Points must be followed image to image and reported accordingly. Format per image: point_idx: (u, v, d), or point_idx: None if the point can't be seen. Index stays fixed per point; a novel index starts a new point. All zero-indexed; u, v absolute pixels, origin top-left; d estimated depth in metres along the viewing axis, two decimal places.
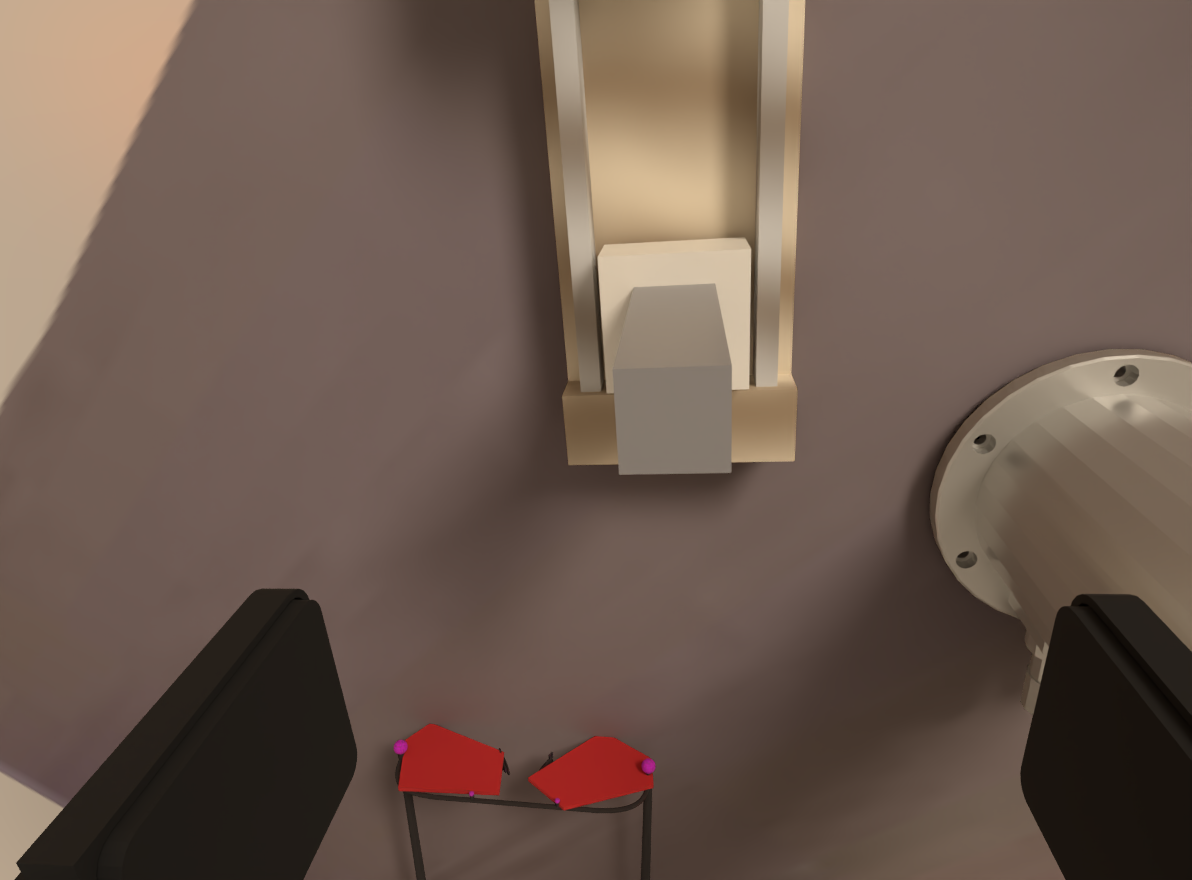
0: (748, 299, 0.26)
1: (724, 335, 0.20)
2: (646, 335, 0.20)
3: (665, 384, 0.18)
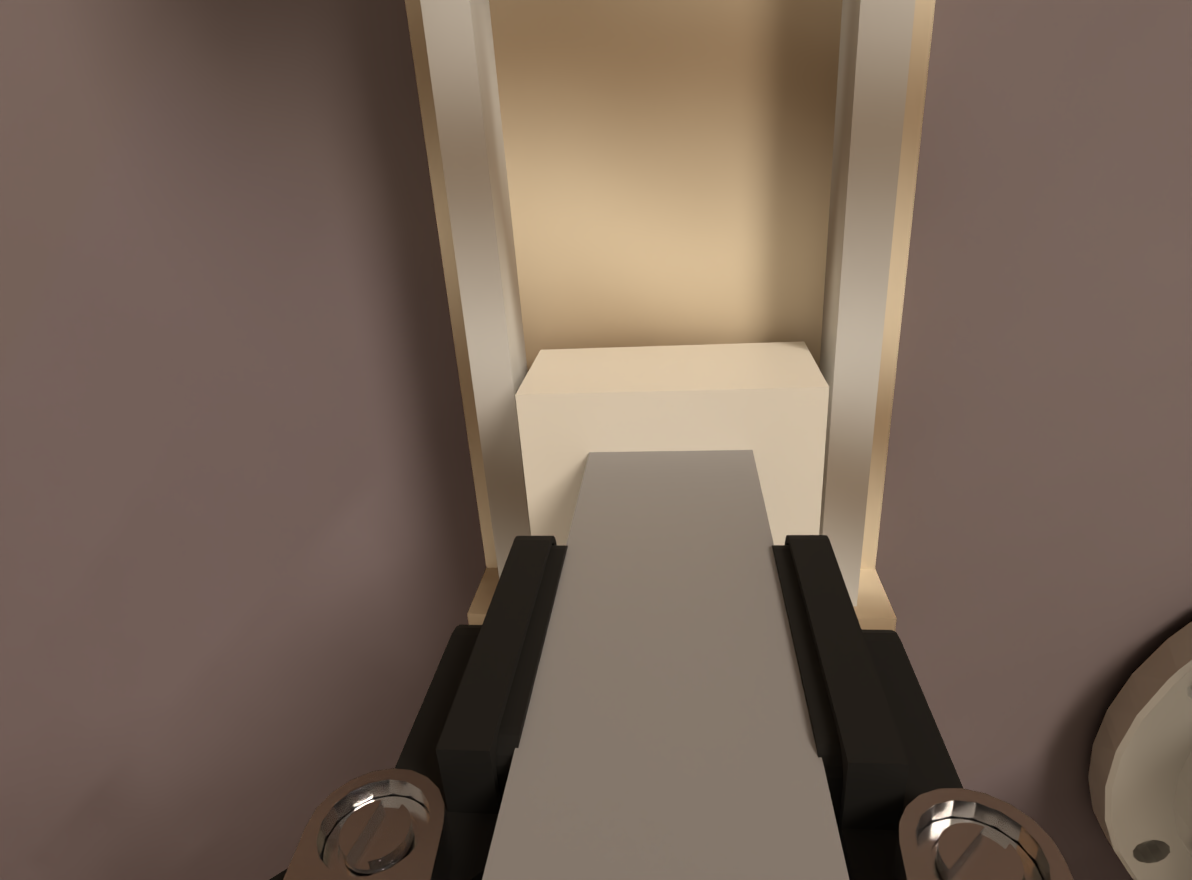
0: (818, 480, 0.13)
1: (815, 747, 0.07)
2: (591, 716, 0.07)
3: None
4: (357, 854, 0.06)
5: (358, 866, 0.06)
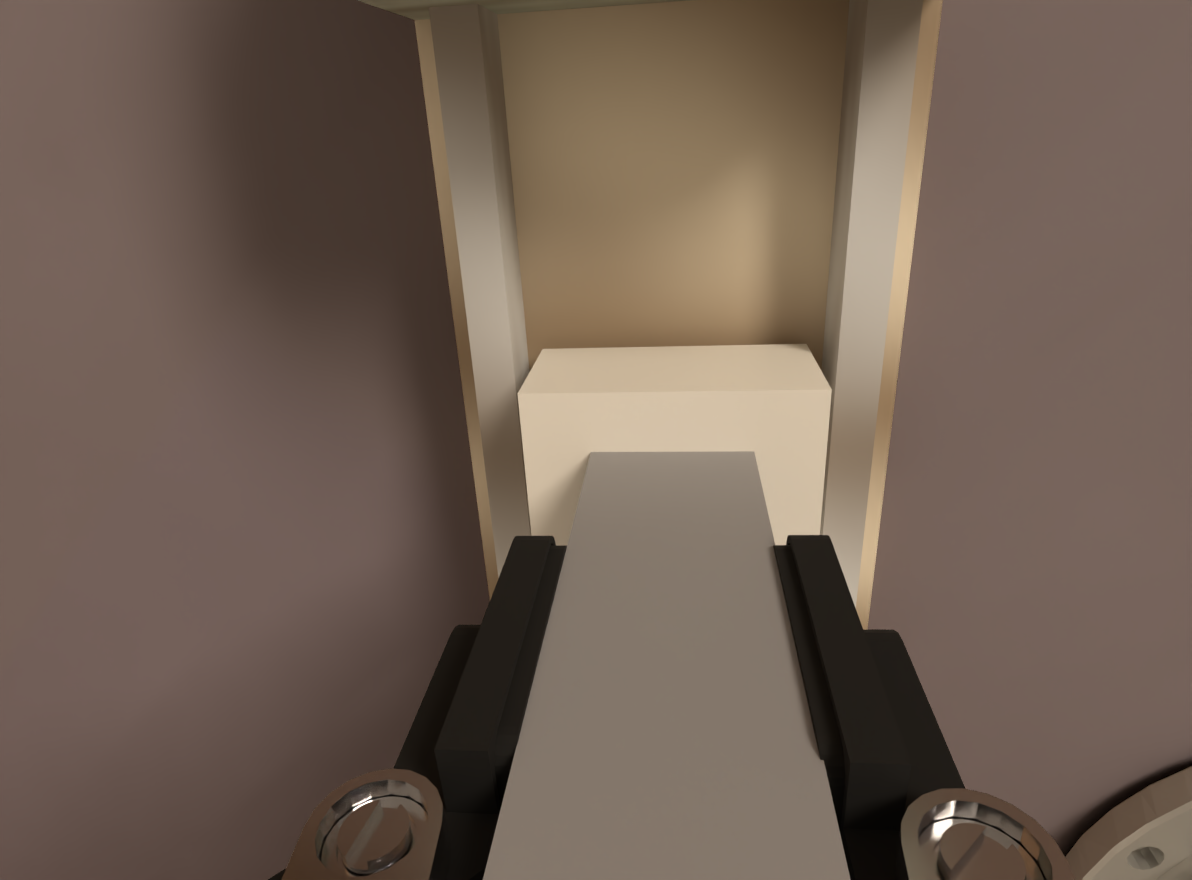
0: (820, 483, 0.13)
1: (817, 749, 0.07)
2: (592, 717, 0.07)
3: None
4: (356, 854, 0.06)
5: (358, 865, 0.06)
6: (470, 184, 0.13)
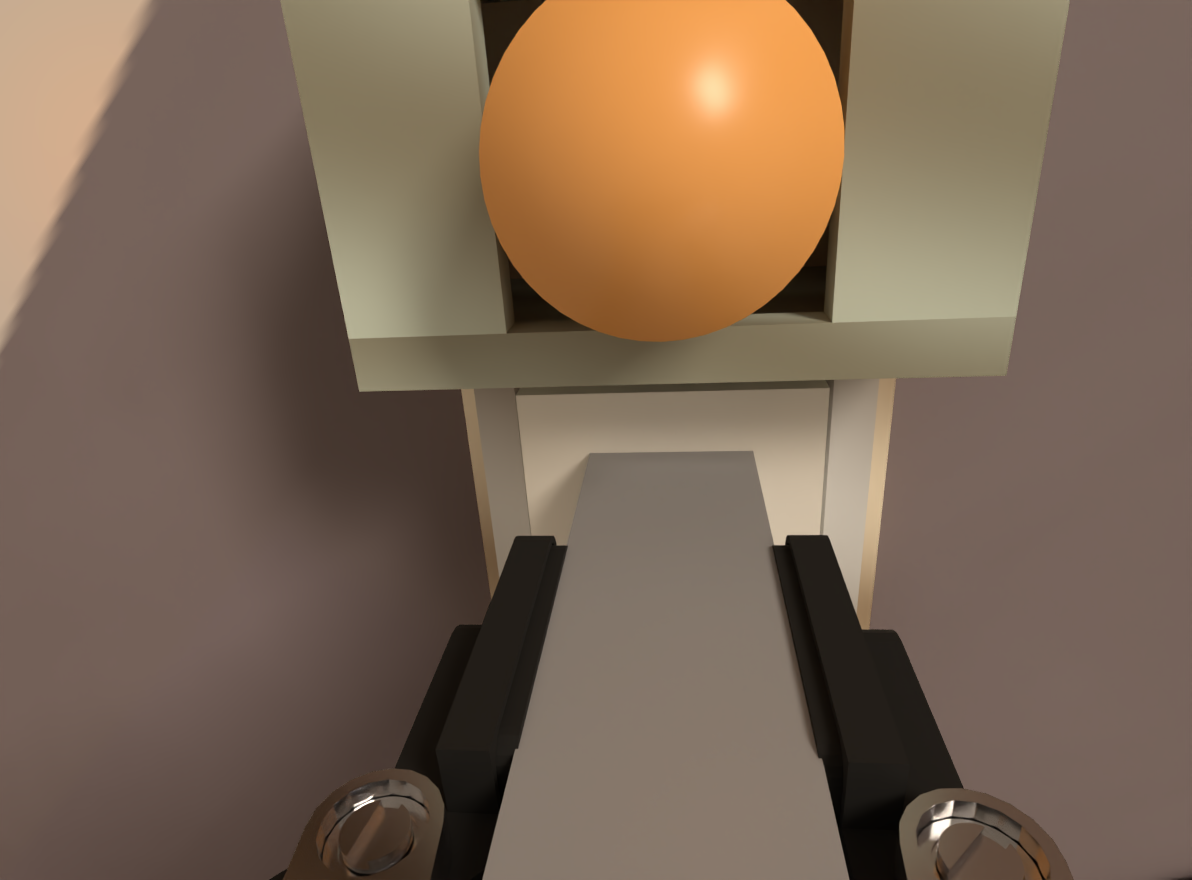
0: (819, 481, 0.13)
1: (816, 748, 0.07)
2: (591, 718, 0.07)
3: None
4: (357, 854, 0.06)
5: (360, 865, 0.06)
6: (500, 457, 0.15)
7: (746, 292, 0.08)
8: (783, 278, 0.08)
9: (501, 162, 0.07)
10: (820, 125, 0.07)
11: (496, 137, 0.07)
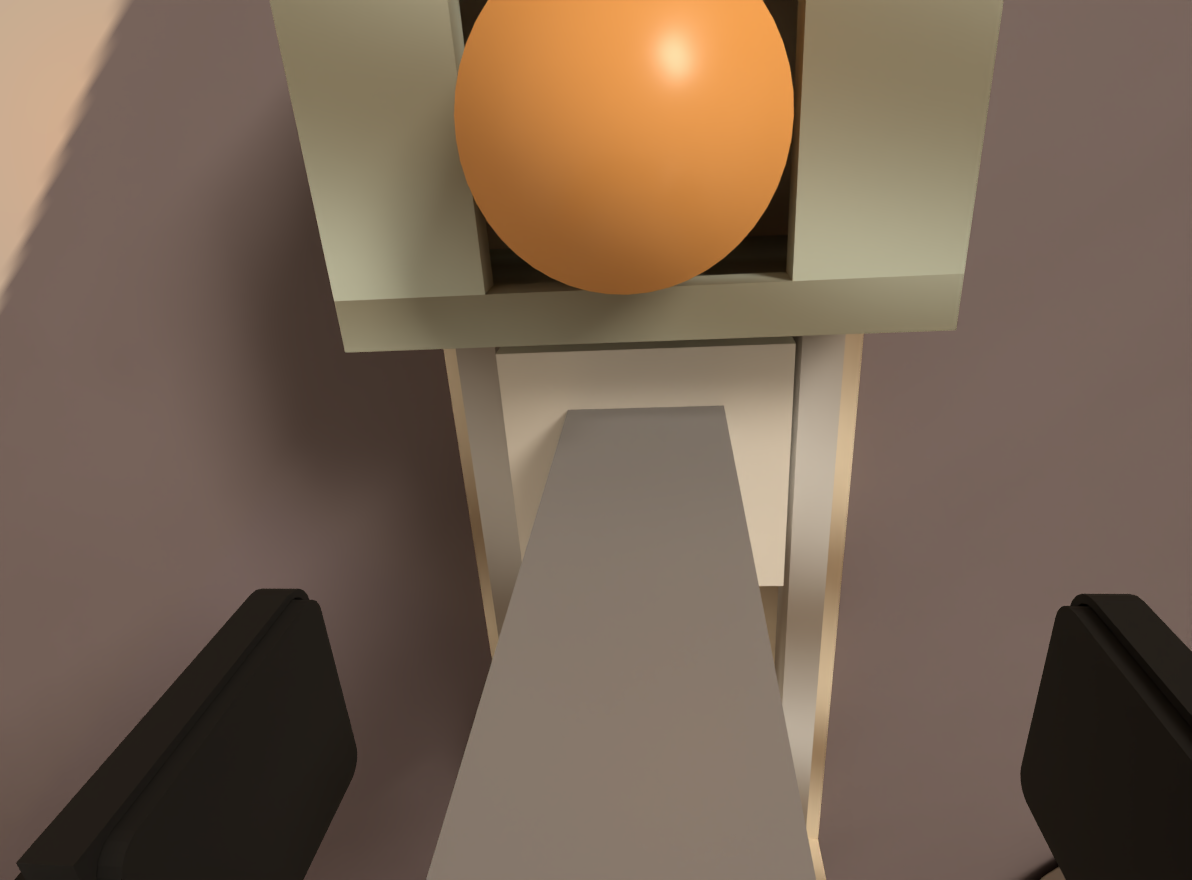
0: (787, 434, 0.13)
1: (768, 653, 0.07)
2: (563, 633, 0.08)
3: None
4: None
5: None
6: (483, 422, 0.15)
7: (706, 246, 0.08)
8: (740, 233, 0.08)
9: (476, 124, 0.08)
10: (770, 88, 0.08)
11: (470, 100, 0.08)
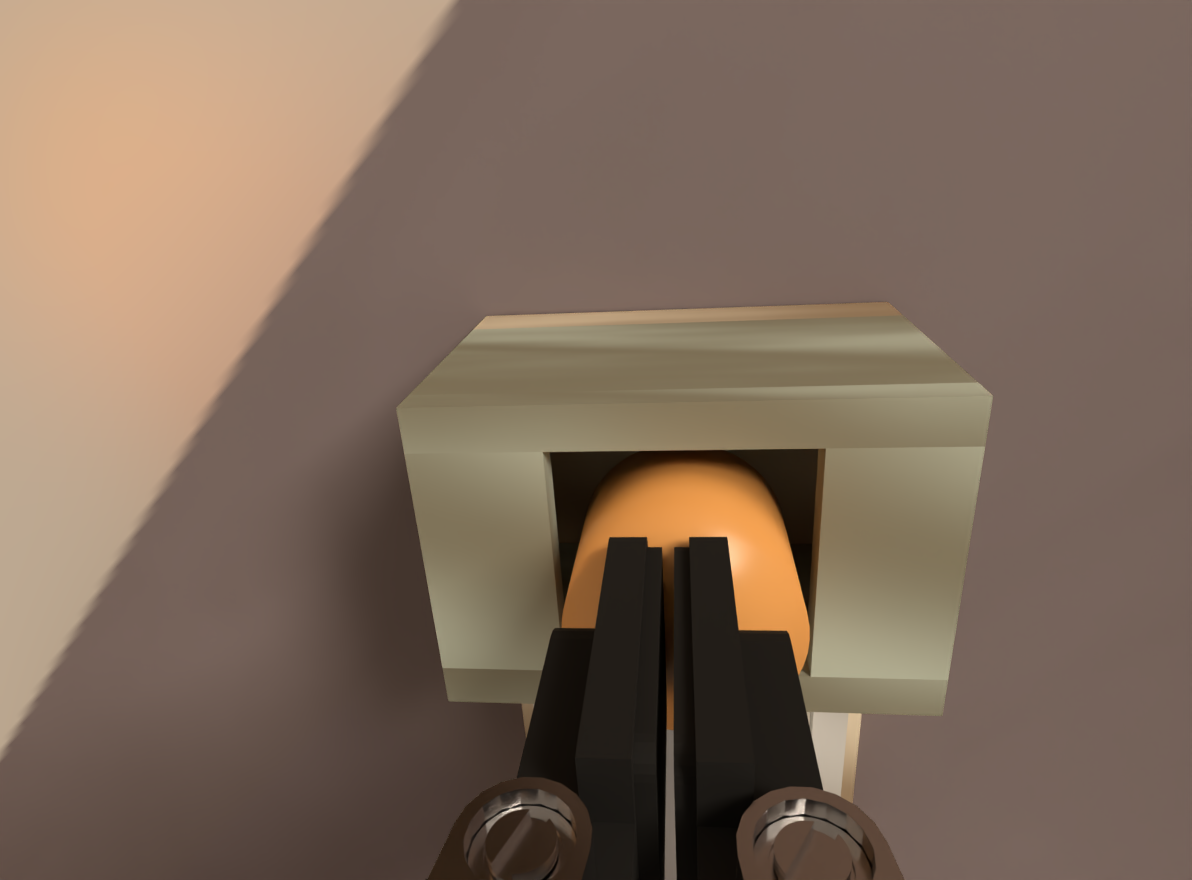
0: None
1: None
2: None
3: None
4: (501, 863, 0.06)
5: (502, 874, 0.06)
6: None
7: None
8: None
9: (577, 627, 0.11)
10: (792, 623, 0.11)
11: (574, 615, 0.11)
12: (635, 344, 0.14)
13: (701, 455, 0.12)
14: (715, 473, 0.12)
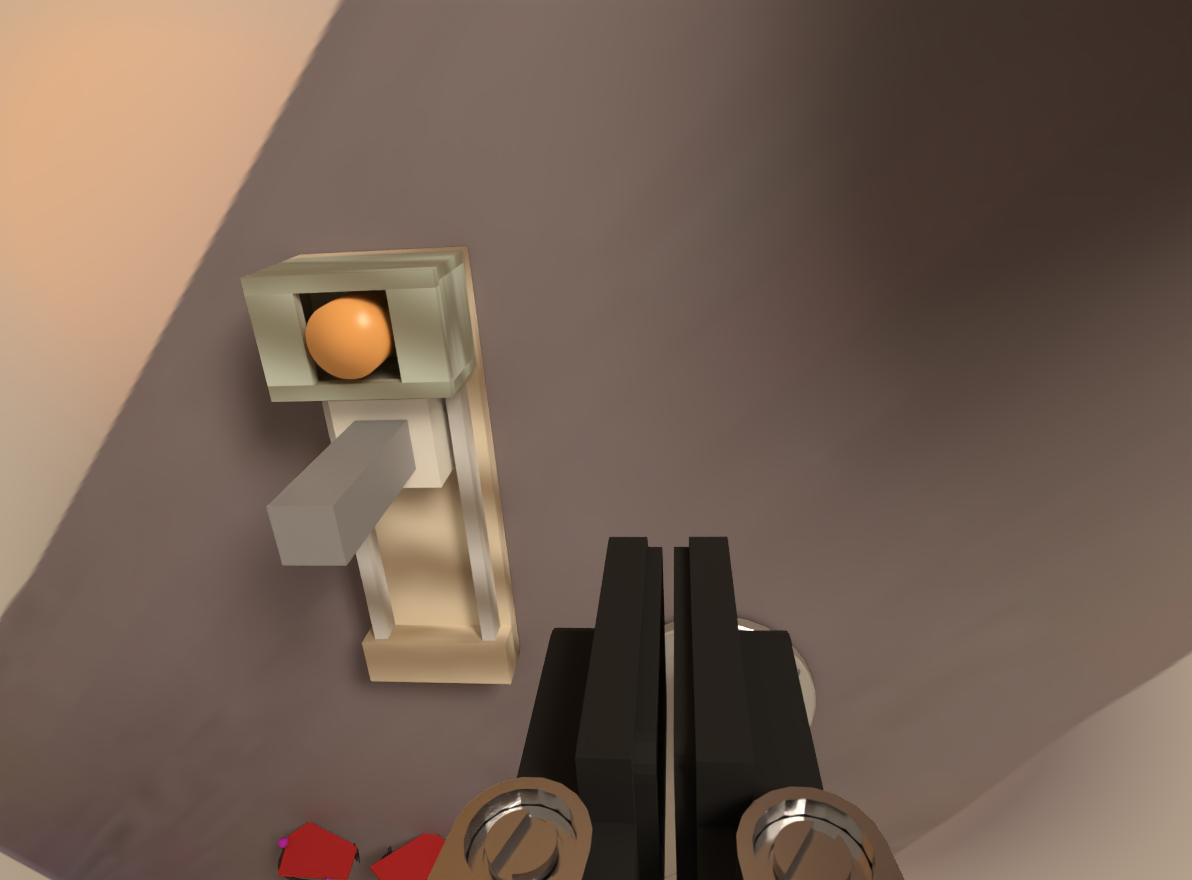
0: (430, 430, 0.38)
1: (357, 477, 0.32)
2: (313, 474, 0.32)
3: (298, 515, 0.30)
4: (502, 863, 0.06)
5: (502, 873, 0.06)
6: None
7: (368, 368, 0.34)
8: (375, 365, 0.34)
9: (310, 340, 0.34)
10: (375, 334, 0.33)
11: (309, 335, 0.34)
12: (345, 261, 0.36)
13: None
14: (364, 294, 0.35)
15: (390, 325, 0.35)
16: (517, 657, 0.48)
